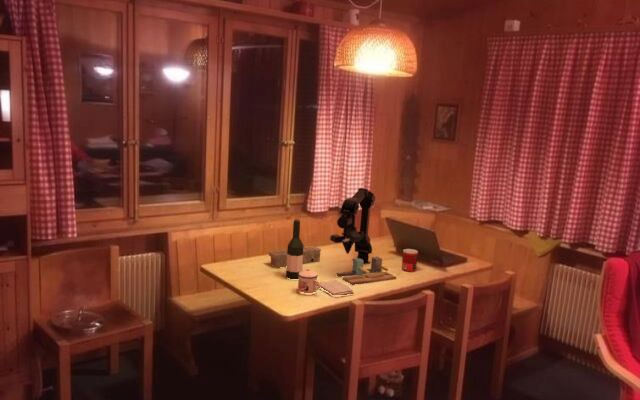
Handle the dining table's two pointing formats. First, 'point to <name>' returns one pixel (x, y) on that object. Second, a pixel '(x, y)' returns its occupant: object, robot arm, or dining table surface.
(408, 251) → the canned food
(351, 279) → the hole board
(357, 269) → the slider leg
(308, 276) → the teacup with lid
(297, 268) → the wine bottle
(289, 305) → the dining table surface
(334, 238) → the robot arm
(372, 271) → the gauge rail
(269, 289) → the dining table surface
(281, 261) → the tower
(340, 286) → the washcloth
